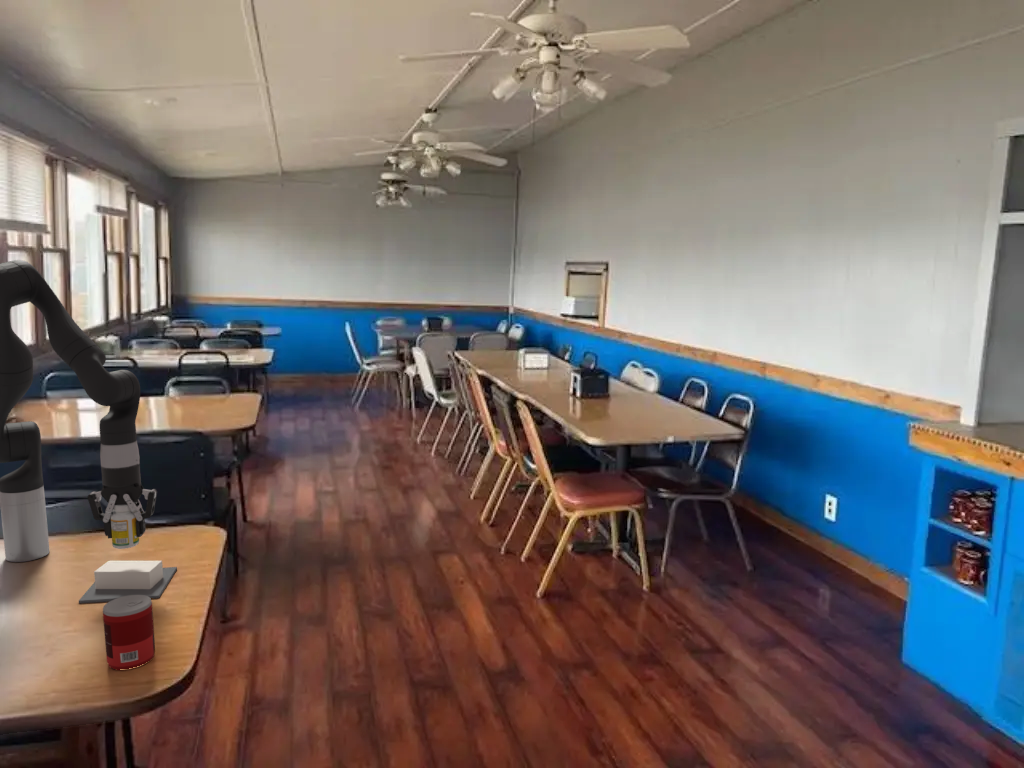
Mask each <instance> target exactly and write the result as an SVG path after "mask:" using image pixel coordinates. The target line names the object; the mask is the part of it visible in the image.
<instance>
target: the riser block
mask: <svg viewBox="0 0 1024 768" xmlns="http://www.w3.org/2000/svg"><path fill="white" fill-rule="evenodd" d="M163 568H164V567H163V560H107V562H105V563H104V564H102V565H101V566H100V567H98V568H97V569H96V570H94V571H93V573H94V574H93V575H94V576H93V577H94V582H95V588H96V589H151V588H152V587H153V586H154V585H156V584H157V583H158V582H159V581H160V580H161V579H162V578H163Z"/></svg>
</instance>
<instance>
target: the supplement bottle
mask: <svg viewBox="0 0 1024 768" xmlns="http://www.w3.org/2000/svg"><path fill="white" fill-rule="evenodd" d="M136 521H137V519H136V517H135V515H134V513H132V512H131V510H130V508H129V506H128V505H114V513H113V514H112V515H111V530H112V538H111V544H112V547H113V548H114V549H117V550H125V549H130V548H133V547H136V546H137V545H138V544H139V543H140V537H137V531H136Z"/></svg>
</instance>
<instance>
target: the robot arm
mask: <svg viewBox="0 0 1024 768" xmlns="http://www.w3.org/2000/svg"><path fill="white" fill-rule="evenodd" d="M27 303H31V304H32V305H33V306H35V308H37V309H38V310H39V311H40V312H41V315H42V316H43V317H44V320H45V325H46V331H47V336H48V340H49V343H50V346H51V348H52V349H53V351H54V352H55V353H56V355H57V356H58V357H59V358H60V359H61V360H62V361H63V362H64V363H65V364H66V365H67V366H68V367H69V368H70V369H71V370H72V371H73V372H74V373H75V375H76V377H77V378H78V380H79V383H80V385H81V387H82V388H83V390H84V391H85V393H86V394H87V397H89V398H90V400H92V401H93V402H95V403H96V404H98V405H100V406H103V407H109V410H108V412H107V413H106V415H104V416H103V417H102V418H101V419H100V421H99V438H100V440H99V441H100V452H99V456H100V468H101V471H100V472H101V481H102V484H101V485H102V488H101V490H99V491H96V490H95V491H92V492H90V493H89V494H88V495H87V500H88V504H89V508H90V511H91V513H92V516H93V519H94V520H95V521H101V522H103V529H104V535H105V537H107V539H112V530H111V515H112V514H113V513H114V512H115V511H114V505H128V506H129V508H130V510H131V512H132V513H134V515H135V517H136V519H137V521H136V531H137V537H139V538H142V536H143V535H144V534H145V532H146V519H149V518H151V516H152V515H153V514H155V513H154V512H155V507H156V501H157V495H158V491H157V488H153V489H146V488H144V486H143V485H142V482H141V481H142V479H141V463H140V460H141V457H140V450H139V446H138V440H137V437H138V436H137V426H136V419H137V416H138V412H139V406H140V400H141V386H140V385H141V384H140V382H139V379H138V378H137V376H136V375H135V374H134V373H133V372H132V371H130V370H127V369H119V370H115V371H108V370H107V369H106V368H105V367H104V365H105V364H106V361H107V356H106V354H105V352H104V350H102V349H101V348H100V346H98V345H97V344H96V342H95V341H94V340H93V339H91V337H89V335H87V334H86V333H85V331H83V330H82V328H81V327H80V326H79V325H78V324H77V323H76V321H75V320H74V319H73V317H72V316H71V315H70V313H69V312H68V311H67V309H66V308H65V306H64V305H63V303H62V302H61V301H60V299H59V297H58V296H57V294H56V293H55V292H54V290H53V289H52V288H51V286H50V285H49V283H48V282H47V281H46V279H45V278H44V277H43V276H42V274H41V273H40V271H39V270H38V269H37V268H36V267H35V266H33V265H32V264H31V263H30V262H28V261H26V260H22V259H15V260H11V261H6V262H1V263H0V464H4V463H13V462H21V461H25V462H24V463H23V464H22V465H21V466H20V467H18V468H17V469H15V470H13V471H11V472H9V473H7V474H5V475H3V476H1V477H0V517H1V526H2V535H3V545H4V548H3V549H4V555H5V561H8V562H12V563H21V562H22V563H23V562H29V561H34V560H35V561H36V560H38V559H41V558H43V557H46V556H47V555H48V554H49V553H50V550H51V549H50V541H49V530H48V529H49V528H48V520H47V518H48V516H47V508H46V507H47V506H46V498H45V488H44V476H43V475H44V474H43V466H42V465H43V464H42V463H43V461H42V437H41V432H40V431H41V430H40V428H39V425H38V424H37V423H36V422H35V421H19V422H18V421H17V422H9V423H6V422H7V419H8V417H9V415H10V413H11V412H12V410H13V409H14V408H15V407H16V405H17V404H18V403H19V402H20V401H21V399H22V398H24V396H25V395H26V393H27V392H28V391H29V389H30V387H31V386H32V384H33V382H34V381H33V380H34V359H33V353H32V352H31V350H30V348H29V346H27V344H26V343H25V342H24V341H23V339H21V338H20V337H19V336H18V335H17V334H16V332H15V331H14V330H13V328H12V324H11V315H10V314H11V309H12V308H13V307H17V306H20V305H23V304H27ZM142 495H143V496H144V499H145V500H146V507H145V511H144V509H143V506H142V504H141V501H140V498H141V497H142ZM102 498H103V499H104V501H106V503H107V506H106V508H105V512H104V511H103V508H102V505H101V500H102Z"/></svg>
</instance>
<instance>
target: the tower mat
mask: <svg viewBox="0 0 1024 768" xmlns="http://www.w3.org/2000/svg"><path fill="white" fill-rule="evenodd" d="M177 569H178V567H177V566H171V567H163V578H162V579H161V580H160V581H159V582H158V583H157V584H156V585H154V586H153V587H152V588H151V589H96V588H95V581H94V582H93V584H91V586H90V587H88V589H87V591H85V593H84V594H83V595H82V596H81V597H80V599H78V604H90V603H91V604H92V603H108V602H110V601H112V600H114V599H117V598H120V597H124V596H129V595H145V596H148V597H150V598H153V599H160V598H161V596H162V594H163V592H164V591H165V589H166V587H167V586H168V584H169V583H170V582H171V580H172V578H173V577H174V575H175V573H176V572H177Z"/></svg>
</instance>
